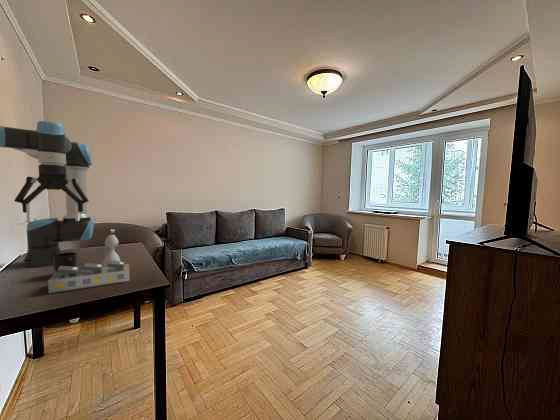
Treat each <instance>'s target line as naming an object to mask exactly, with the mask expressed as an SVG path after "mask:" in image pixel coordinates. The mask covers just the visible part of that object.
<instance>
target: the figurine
mask: <svg viewBox="0 0 560 420" xmlns="http://www.w3.org/2000/svg"><path fill="white" fill-rule="evenodd" d="M115 231H116V230H115V229H112V228H111V229H110V233H111V234H109V235H107V237H106V238H105V240H104V246H105V247H106V248H108V250H109V251H108V253H107V254H106V255H105V257H104V258H103V261H102V267H107V264H108V261H118V262H122V261H121V258H120V256H119V254H118V253H117V252H116V251H115V248H116V247H117V246H118V245H119V239H118V238H117V237H116V235H115V234H113V233H115Z"/></svg>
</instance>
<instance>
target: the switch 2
mask: <svg viewBox="0 0 560 420" xmlns="http://www.w3.org/2000/svg"><path fill="white" fill-rule="evenodd" d="M102 267H103V264H99V263H91V262H90V263H89V262H85V264H84V265H83V268H82V269H83V270H88V271H100V272H101V268H102Z"/></svg>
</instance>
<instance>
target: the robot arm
mask: <svg viewBox="0 0 560 420" xmlns="http://www.w3.org/2000/svg"><path fill="white" fill-rule="evenodd" d="M0 148H6V149H7V148H9V149H13V150H16V151H19V152H22V153H25V154H26V155H28V156H29V157H31V158H34V159H36V160H37V159H38V160H37V161H38V163H39V165H38V166H37V167H38V177H33V176H27V177H26V181H25V183H24V185H23V186H22V188H21V189H20V191H19V192H18V194H17V196H15V198H14V202H16V203H20V204H21V205H22V212H23V213H26V222H27V223H26V231H25V232H26V239H27V251H26V254H25V256H24V258H23V263H22V264H23V266H24V267H29V268H31V267H34V268H35V267H44V266H50V265H51V266H52V265H53V257H52V256H53V255H55V254H59V253H63V252H62V250H61V248H60V245H59V244H60V243H65V242H75V241H76V242H77V241H79V242H81V241H88V240H90V239H92V236H93V232H94V224H95V220H94V219H91V218H92V217H91V215H89V214H88V209H87V208H88V207H87V205H88V202H89V201H90V200H89V199H88V197H87V174H86V173H87V171H88V170H89V169H90V167H91V166H93V159H92V153H91V149H90V146H89V145H88V144H86V143H81V142H74V141H73V142H72V141H71V140H70V139H69V138H68V137H67V136H66V128H65V126H64V125H63V124H61V123H58V122H55V121H54V122H53V121H49V120H48V121H47V120H38V121H37V123H36V129H35V130H33V129H26V128H24V129H23V128H16V127H10V126H4V125H0ZM36 182H38V183H39V185H38V186H37V188H36V189H35V190H33V191H32V192H30V194H29V191H30V190H31V188H32V187H33V185H34V184H35V183H36ZM45 190H47V191H50V190H55V191H58V190H59V191H61V190H62V191H63V192H64V193H65V202H66V204H65V205H66V206H65V207H66V214H65V215H64V216H63V217H62V220H59V217H50V218H39V219H34V209H33V203H31V202H33V200H34V199H35V198H36V197H38V195H40V194H42V192H43V191H45ZM27 194H29V195H27Z"/></svg>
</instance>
